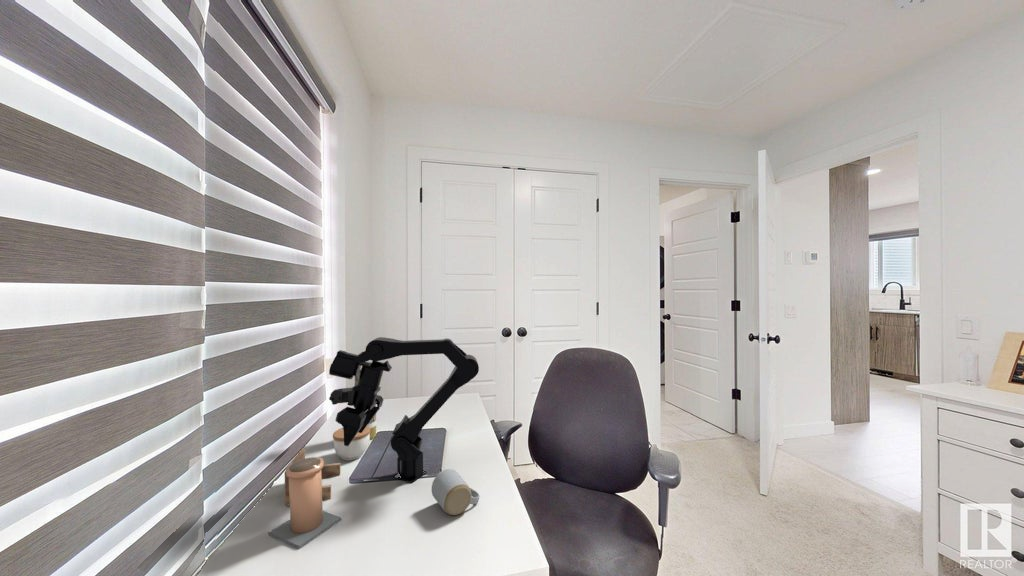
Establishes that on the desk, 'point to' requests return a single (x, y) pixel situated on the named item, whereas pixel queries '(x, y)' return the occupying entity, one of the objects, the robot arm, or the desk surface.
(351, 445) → the lidded jar
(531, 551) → the desk surface
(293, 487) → the terracotta pot
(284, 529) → the slate mat
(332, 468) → the light wood arch piece
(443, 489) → the ceramic mug
